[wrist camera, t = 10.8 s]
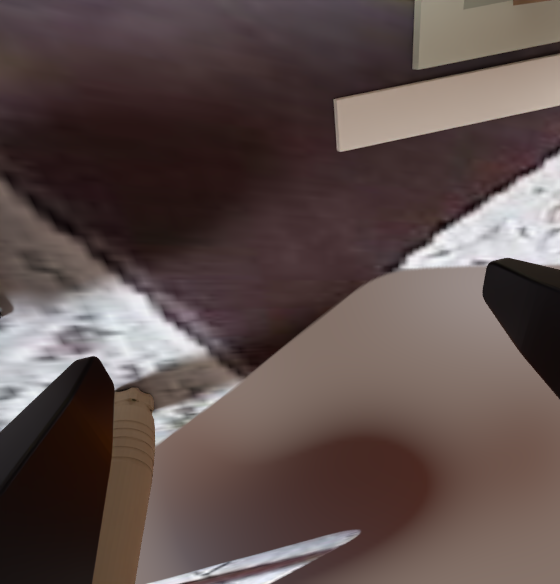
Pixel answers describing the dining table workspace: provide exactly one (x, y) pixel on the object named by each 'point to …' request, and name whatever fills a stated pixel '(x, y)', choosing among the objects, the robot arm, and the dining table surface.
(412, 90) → the strip
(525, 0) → the block
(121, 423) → the handle
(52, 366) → the dining table surface
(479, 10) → the pad
